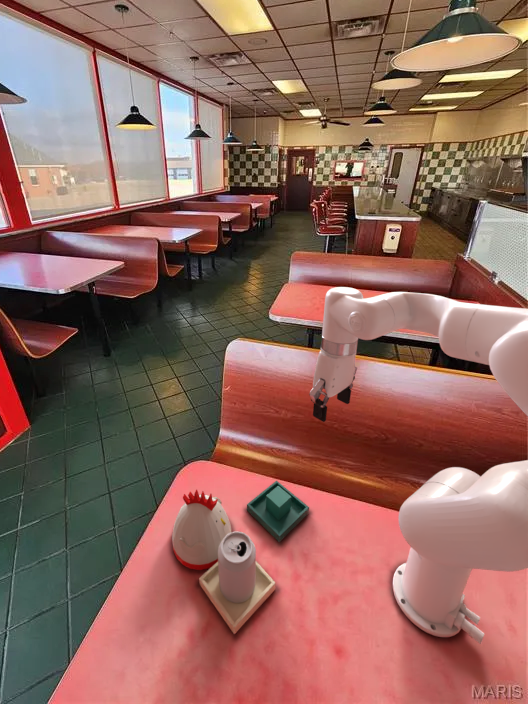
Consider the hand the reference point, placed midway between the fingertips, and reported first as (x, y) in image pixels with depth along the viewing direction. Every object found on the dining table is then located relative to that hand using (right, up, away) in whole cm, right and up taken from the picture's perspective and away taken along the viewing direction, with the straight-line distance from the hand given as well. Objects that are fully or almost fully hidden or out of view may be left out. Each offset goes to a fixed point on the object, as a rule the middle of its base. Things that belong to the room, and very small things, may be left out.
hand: (331, 409), depth 78 cm
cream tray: (-22, -34, -9) cm, 42 cm away
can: (-22, -34, -10) cm, 42 cm away
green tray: (-12, -28, +6) cm, 31 cm away
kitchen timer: (-31, -31, 0) cm, 43 cm away
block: (-12, -27, +7) cm, 30 cm away
